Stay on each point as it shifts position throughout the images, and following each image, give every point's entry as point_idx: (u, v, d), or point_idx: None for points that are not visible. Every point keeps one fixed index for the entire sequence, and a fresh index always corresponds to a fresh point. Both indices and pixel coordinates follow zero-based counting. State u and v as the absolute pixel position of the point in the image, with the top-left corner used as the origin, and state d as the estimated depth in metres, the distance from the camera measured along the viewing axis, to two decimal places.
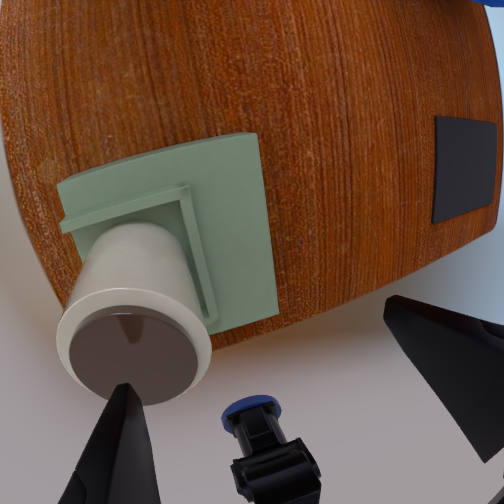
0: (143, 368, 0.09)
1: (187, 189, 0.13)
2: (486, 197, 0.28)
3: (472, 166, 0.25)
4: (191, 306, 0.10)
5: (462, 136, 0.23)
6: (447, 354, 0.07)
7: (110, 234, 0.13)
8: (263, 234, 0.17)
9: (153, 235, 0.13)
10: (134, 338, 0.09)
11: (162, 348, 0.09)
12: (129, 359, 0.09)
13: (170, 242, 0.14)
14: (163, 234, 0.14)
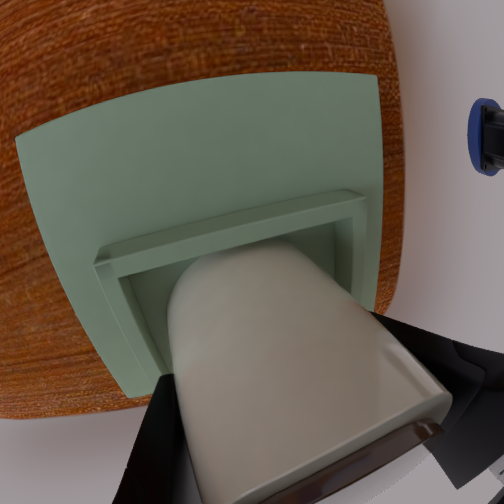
0: (362, 494, 0.04)
1: (98, 266, 0.07)
2: None
3: None
4: (273, 455, 0.03)
5: None
6: None
7: None
8: (206, 92, 0.07)
9: (175, 329, 0.08)
10: None
11: (336, 500, 0.03)
12: None
13: (191, 299, 0.08)
14: (180, 299, 0.08)
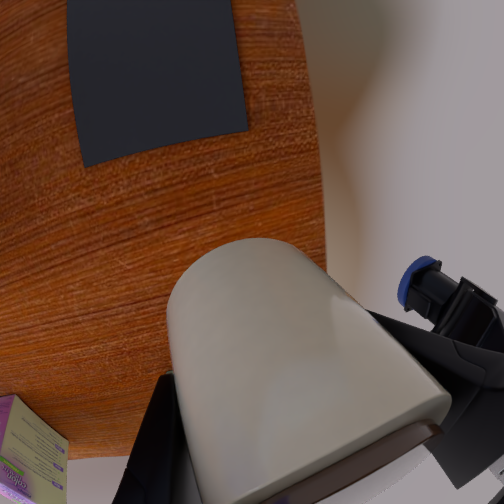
0: (361, 494, 0.04)
1: None
2: None
3: (149, 36, 0.13)
4: (273, 456, 0.03)
5: (99, 86, 0.14)
6: None
7: None
8: None
9: (175, 330, 0.08)
10: None
11: (336, 501, 0.03)
12: None
13: (191, 300, 0.08)
14: (180, 299, 0.08)
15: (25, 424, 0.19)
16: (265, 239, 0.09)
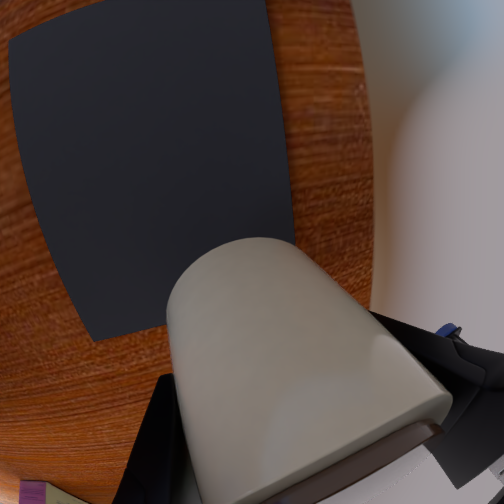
0: (362, 495, 0.04)
1: None
2: (243, 21, 0.09)
3: (151, 158, 0.10)
4: (273, 456, 0.03)
5: (87, 243, 0.11)
6: None
7: None
8: None
9: (175, 330, 0.08)
10: None
11: (336, 501, 0.03)
12: None
13: (191, 299, 0.08)
14: (180, 299, 0.08)
15: None
16: (265, 238, 0.09)
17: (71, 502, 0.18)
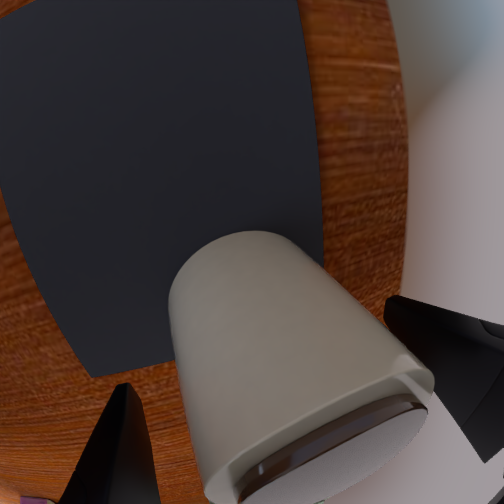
0: (349, 468, 0.05)
1: None
2: (268, 2, 0.07)
3: (153, 168, 0.08)
4: (262, 417, 0.04)
5: (78, 272, 0.09)
6: (447, 354, 0.07)
7: None
8: None
9: (177, 315, 0.08)
10: (289, 492, 0.04)
11: (323, 469, 0.04)
12: (325, 482, 0.05)
13: (191, 286, 0.08)
14: (182, 287, 0.09)
15: None
16: (260, 232, 0.10)
17: None
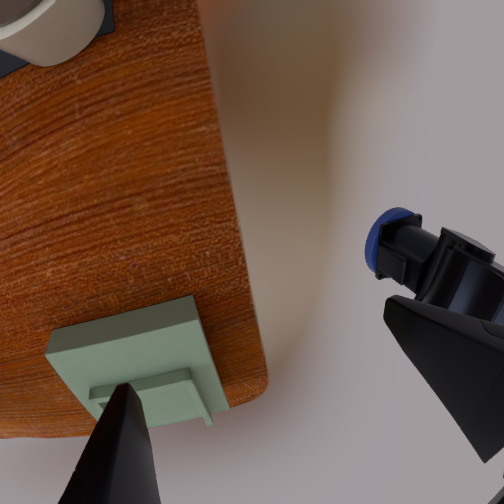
0: None
1: (90, 400, 0.17)
2: None
3: None
4: None
5: None
6: (447, 354, 0.07)
7: None
8: (114, 345, 0.17)
9: None
10: None
11: None
12: None
13: None
14: None
15: None
16: None
17: None
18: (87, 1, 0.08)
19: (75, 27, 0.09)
